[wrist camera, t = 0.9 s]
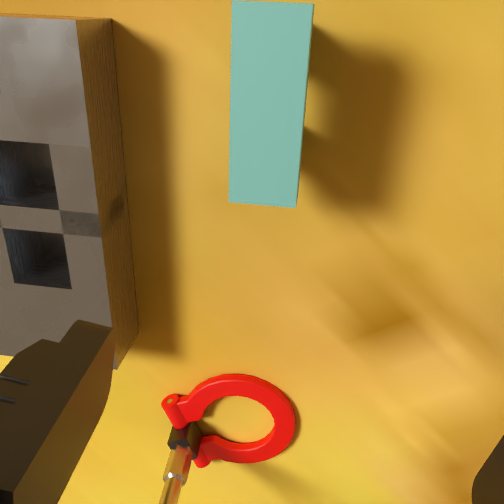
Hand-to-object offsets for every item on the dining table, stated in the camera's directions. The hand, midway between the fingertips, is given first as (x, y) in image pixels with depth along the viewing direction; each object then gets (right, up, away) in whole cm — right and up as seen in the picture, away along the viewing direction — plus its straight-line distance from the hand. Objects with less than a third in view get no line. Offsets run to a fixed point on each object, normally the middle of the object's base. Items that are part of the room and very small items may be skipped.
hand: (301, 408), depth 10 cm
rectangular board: (-13, +7, +20) cm, 25 cm away
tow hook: (-2, -9, +27) cm, 29 cm away
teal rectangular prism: (+1, +12, +16) cm, 19 cm away
